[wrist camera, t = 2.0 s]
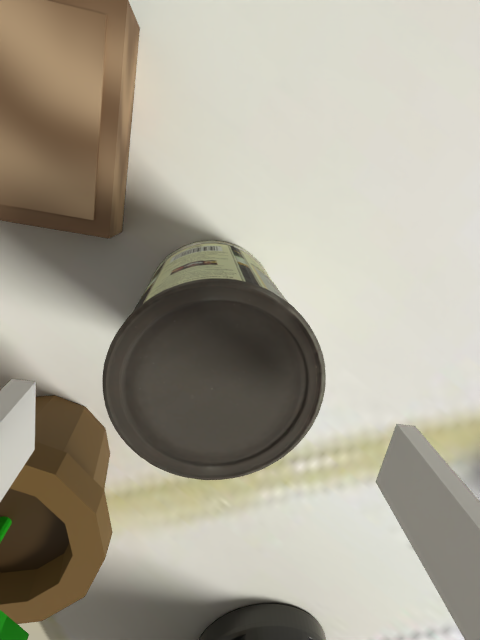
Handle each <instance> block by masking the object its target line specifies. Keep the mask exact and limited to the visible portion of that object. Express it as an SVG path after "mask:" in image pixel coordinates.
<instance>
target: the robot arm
mask: <svg viewBox="0 0 480 640" xmlns="http://www.w3.org/2000/svg"><path fill="white" fill-rule="evenodd" d="M35 402H36V382H35V381H26V380H18V379H11V380H10V381H9V382H8V383H7V384H6V385H5V386H4V387H3V388H2V389H1V390H0V502H1V500H2V499H3V497H4V496H5V494H6V493H7V491H8V490H9V488H10V487H11V485H12V483H13V482H14V480H15V479H16V477H17V476H18V474H19V473H20V471H21V470H22V468H23V467H24V465H25V463H26V462H27V460H28V459H29V457H30V456H31V454H32V453H33V451H34V450H35ZM376 483H377V485H378V487H379V488H380V490H381V492H382V494H383V496H384V497H385V499H386V501H387V503H388V504H389V506H390V508H391V510H392V511H393V513H394V515H395V517H396V519H397V520H398V522H399V524H400V526H401V527H402V529H403V531H404V533H405V534H406V536H407V538H408V540H409V542H410V543H411V545H412V547H413V549H414V550H415V552H416V554H417V556H418V557H419V559H420V561H421V563H422V565H423V566H424V568H425V570H426V572H427V573H428V575H429V577H430V579H431V580H432V582H433V584H434V586H435V588H436V589H437V591H438V593H439V595H440V596H441V598H442V600H443V602H444V603H445V605H446V607H447V609H448V611H449V612H450V614H451V616H452V618H453V619H454V621H455V623H456V625H457V626H458V628H459V630H460V632H461V634H462V635H463V637H464V639H465V640H480V501H479V500H478V499H477V498H476V497H475V495H474V494H473V493H472V492H471V491H470V490H469V488H468V487H467V486H466V485H465V484H464V483H463V481H462V480H461V479H460V478H459V477H458V476H457V474H456V473H455V472H454V471H453V470H452V469H451V467H450V466H449V465H448V464H447V463H446V462H445V460H444V459H443V458H442V457H441V456H440V455H439V453H438V452H437V451H436V450H435V449H434V448H433V446H432V445H431V444H430V443H429V442H428V441H427V439H426V438H425V437H424V436H423V435H422V434H421V432H420V431H419V430H418V429H417V428H416V427H415V426H410V425H401V424H396V427H395V430H394V433H393V435H392V438H391V441H390V444H389V446H388V449H387V452H386V455H385V458H384V460H383V463H382V466H381V469H380V471H379V474H378V477H377V480H376ZM199 640H326V637H325V634H324V631H323V629H322V627H321V625H320V624H319V622H318V621H317V620H316V619H315V618H314V617H312V616H311V615H310V614H308V613H306V612H305V611H303V610H300V609H298V608H295V607H291V606H287V605H281V604H259V605H253V606H248V607H244V608H241V609H238V610H235V611H233V612H230V613H228V614H226V615H224V616H223V617H221V618H219V619H218V620H216V621H215V622H214V623H213V624H211V625H210V626H209V627H208V628H207V629H206V630H205V632H204V633H203V634H202V636H201V637H200V639H199Z"/></svg>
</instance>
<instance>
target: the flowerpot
mask: <svg viewBox="0 0 480 640" xmlns="http://www.w3.org/2000/svg"><path fill="white" fill-rule="evenodd" d="M109 457H110V451H109V446H108V440H107V435H106V429H105V427H104V426H103V425H102V424H101V423H100V422H99V421H98V420H97V419H96V418H95V417H94V416H93V414H92V413H91V412H90V411H89V410H88V409H87V408H86V407H85V406H82V405H79V404H77V403H74V402H71V401H69V400H66V399H63V398H61V397H58V396H55V395H52V396H39V397H36V402H35V450H34V451H33V453H32V454H31V456H30V457H29V459H28V460H27V462H26V463H25V465H24V467H23V468H22V470H21V471H20V473H19V474H18V476H17V477H16V479H15V480H14V482H13V483H12V485H11V487H10V488H9V490H8V491H7V493H6V494H5V496H4V497H3V499H2V500H1V502H0V640H27V639H28V636H29V634H28V633H27V632H26V631H24V630H23V629H22V628H21V627H20V626H19V625H18V624H20V623H29V622H38V621H43V620H45V619H46V618H48V617H50V616H52V615H53V614H55V613H57V612H59V611H60V610H62V609H64V608H66V607H67V606H69V605H71V604H73V603H74V602H76V601H78V600H80V599H81V598H83V597H85V595H86V593H87V591H88V590H89V588H90V586H91V584H92V582H93V580H94V578H95V576H96V575H97V573H98V571H99V569H100V567H101V565H102V563H103V561H104V560H105V557H106V554H107V550H108V546H109V543H110V539H111V535H112V528H111V523H110V518H109V513H108V507H107V502H106V497H105V492H104V487H105V481H106V475H107V469H108V463H109Z"/></svg>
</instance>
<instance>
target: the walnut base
mask: <svg viewBox="0 0 480 640" xmlns="http://www.w3.org/2000/svg"><path fill="white" fill-rule="evenodd" d="M139 30H140V28H139V25H138V23H137V21H136V18H135V16H134V13H133V11H132V8H131V6H130V4H129V1H128V0H0V220H2V221H8V222H14V223H20V224H26V225H32V226H38V227H43V228H49V229H55V230H61V231H67V232H73V233H79V234H85V235H91V236H97V237H103V238H111V237H113V236H115V235H117V234H119V233H121V232H122V226H123V215H124V203H125V191H126V180H127V168H128V157H129V145H130V134H131V122H132V111H133V99H134V88H135V76H136V64H137V53H138V41H139Z"/></svg>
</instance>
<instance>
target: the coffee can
mask: <svg viewBox="0 0 480 640" xmlns="http://www.w3.org/2000/svg"><path fill="white" fill-rule="evenodd" d="M324 391H325V363H324V358H323V354H322V351H321V348H320V345H319V343H318V340H317V338H316V336H315V335H314V333H313V331H312V329H311V328H310V326H309V325H308V323H307V322H306V320H305V319H304V318H303V317H302V316H301V315H300V314H299V313H298V311H297V310H296V309H295V308H294V307H293V306H292V305H290V304H289V303H288V302H287V300H286V299H285V298H284V296H283V295H282V294H281V292H280V291H279V290H278V288H277V287H276V285H275V284H274V283H273V282H272V280H271V279H270V278H269V276H268V274H267V272H266V271H265V269H264V268H263V266H262V265H261V263H260V262H259V261H258V260H257V259H256V258H255V257H253V255H251V254H250V253H249V252H247V251H246V250H244V249H242V248H240V247H238V246H236V245H233V244H230V243H227V242H222V241H217V240H215V241H201V242H195V243H192V244H189V245H186V246H184V247H182V248H180V249H178V250H176V251H175V252H173V253H172V254H171V255H169V256H167V258H166V259H165V260H164V261H163V262H162V263H161V264H160V265H159V267H158V268H157V269H156V271H155V273H154V275H153V277H152V279H151V281H150V284H149V285H148V287H147V289H146V291H145V292H144V294H143V296H142V298H141V299H140V301H139V303H138V304H137V306H136V308H135V309H134V311H133V313H132V314H131V315H130V316H129V317H128V318H127V320H126V321H125V322H124V324H123V325H122V326H121V328H120V329H119V331H118V332H117V334H116V335H115V337H114V339H113V341H112V343H111V345H110V348H109V350H108V353H107V356H106V360H105V363H104V370H103V395H104V400H105V405H106V409H107V412H108V415H109V418H110V420H111V422H112V424H113V426H114V428H115V429H116V431H117V432H118V434H119V435H120V437H121V438H122V439H123V440H124V441H125V443H126V444H127V445H128V446H129V447H130V448H131V449H132V450H133V451H134V452H136V453H137V454H138V455H139V456H140V457H142V458H143V459H145V460H146V461H147V462H149V463H150V464H152V465H154V466H156V467H158V468H160V469H162V470H164V471H167V472H169V473H172V474H175V475H178V476H182V477H187V478H194V479H201V480H221V479H230V478H235V477H241V476H244V475H248V474H251V473H254V472H256V471H259V470H261V469H263V468H265V467H267V466H269V465H271V464H273V463H274V462H276V461H278V460H279V459H281V458H282V457H284V456H285V455H286V454H287V453H289V452H290V451H291V450H292V449H293V448H294V447H295V446H296V445H297V444H298V443H299V442H300V441H301V440H302V439H303V438H304V436H305V435H306V434H307V432H308V431H309V429H310V428H311V426H312V425H313V423H314V421H315V419H316V417H317V415H318V413H319V410H320V407H321V404H322V401H323V396H324Z"/></svg>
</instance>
